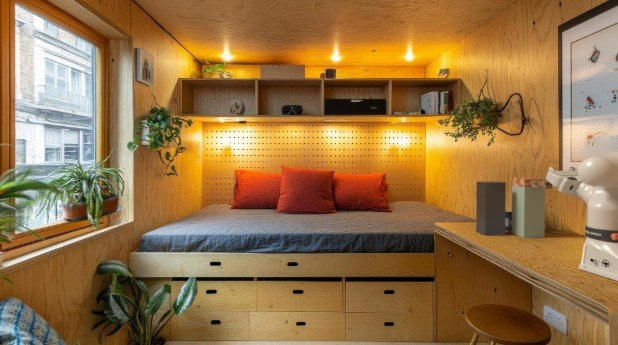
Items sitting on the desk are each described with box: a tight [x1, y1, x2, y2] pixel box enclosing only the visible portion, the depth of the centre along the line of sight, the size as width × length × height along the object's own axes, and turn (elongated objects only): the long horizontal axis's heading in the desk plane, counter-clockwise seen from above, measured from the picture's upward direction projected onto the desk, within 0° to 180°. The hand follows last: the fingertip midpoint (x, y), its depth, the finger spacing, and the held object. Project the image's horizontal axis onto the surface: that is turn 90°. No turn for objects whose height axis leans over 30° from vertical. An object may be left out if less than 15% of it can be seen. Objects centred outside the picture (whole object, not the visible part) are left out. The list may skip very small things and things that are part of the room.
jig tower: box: [475, 180, 507, 237], centre depth 177 cm, size 8×10×26 cm
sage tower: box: [511, 185, 546, 239], centre depth 172 cm, size 10×10×24 cm
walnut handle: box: [513, 177, 553, 190], centre depth 167 cm, size 18×9×4 cm, turn 3°
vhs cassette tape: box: [505, 210, 512, 233], centre depth 186 cm, size 18×3×10 cm, turn 45°
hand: (560, 168), depth 156 cm, fingers open, 8 cm apart
